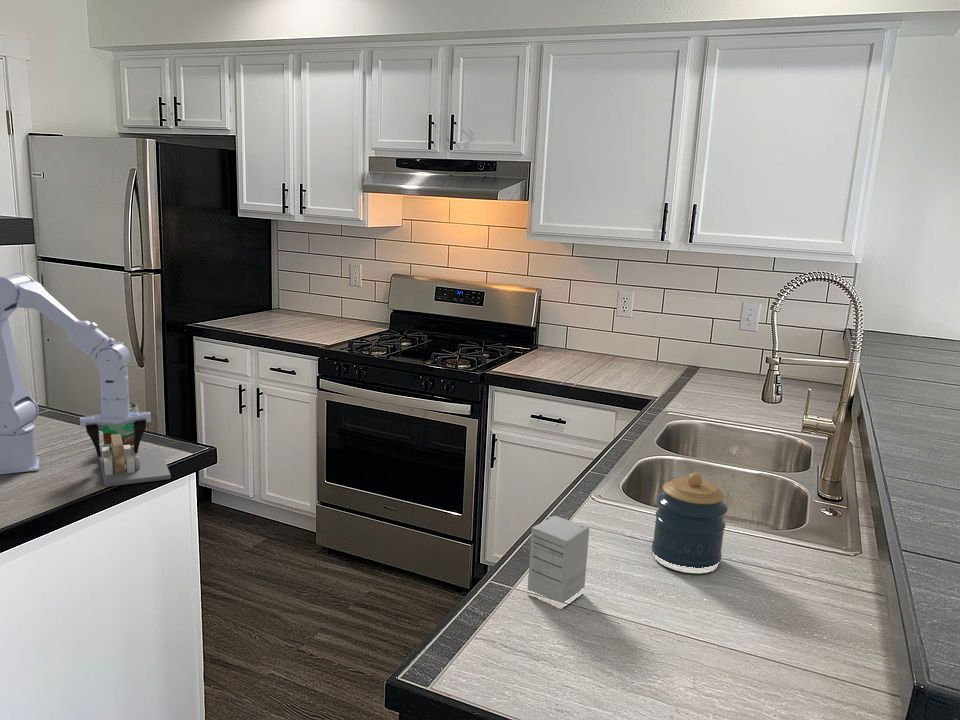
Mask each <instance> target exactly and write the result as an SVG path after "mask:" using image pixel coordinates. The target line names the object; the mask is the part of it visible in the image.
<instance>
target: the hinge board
mask: <svg viewBox="0 0 960 720" xmlns="http://www.w3.org/2000/svg"><path fill="white" fill-rule="evenodd" d="M98 458H99V463H100V465H99V466H100V470H101V475H102V476H101V477H102V481H103V486H104V488H106V487H114V486H115V487H116V486H124V485H130V484H141V483H147V482H157V481H163V480H171V478H172V477H171V475H172V474H171V473H170V470H169V467H168V465H167V463H166V460H165V458H164V455H163V452H162V450H161V448H160V447H151V448H142V449H141V448H139V449H138V453H134V445H133V446H130V445H124V461H125V472H121V473H115V470H114V465H113V461H112V451H111V450H110V449H109V447H103V446H102V447H101V457H98Z"/></svg>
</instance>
